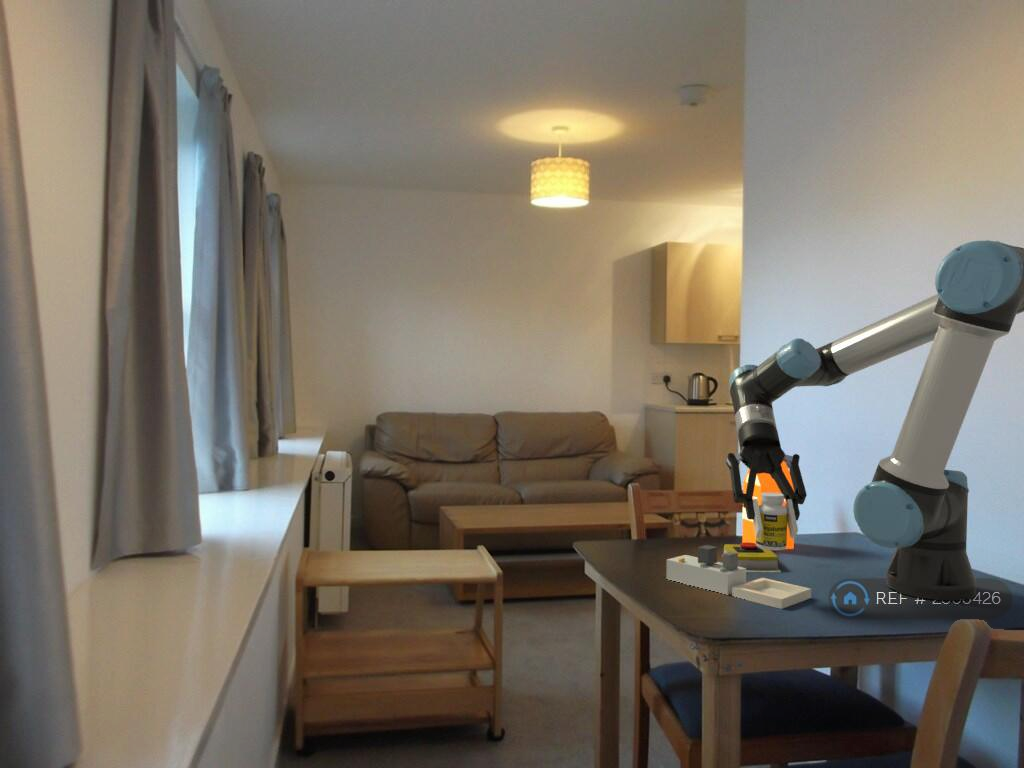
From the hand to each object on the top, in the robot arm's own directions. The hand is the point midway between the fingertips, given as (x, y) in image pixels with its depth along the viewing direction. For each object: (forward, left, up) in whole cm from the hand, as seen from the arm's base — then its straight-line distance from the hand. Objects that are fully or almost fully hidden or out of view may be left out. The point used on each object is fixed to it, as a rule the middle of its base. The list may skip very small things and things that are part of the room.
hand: (776, 533), depth 149 cm
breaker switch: (+15, -1, -8) cm, 17 cm away
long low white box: (+15, -1, -12) cm, 20 cm away
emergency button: (+19, -21, -13) cm, 31 cm away
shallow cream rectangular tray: (+2, -3, -12) cm, 13 cm away
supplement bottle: (+3, -3, -4) cm, 5 cm away
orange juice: (+25, -39, -13) cm, 48 cm away
